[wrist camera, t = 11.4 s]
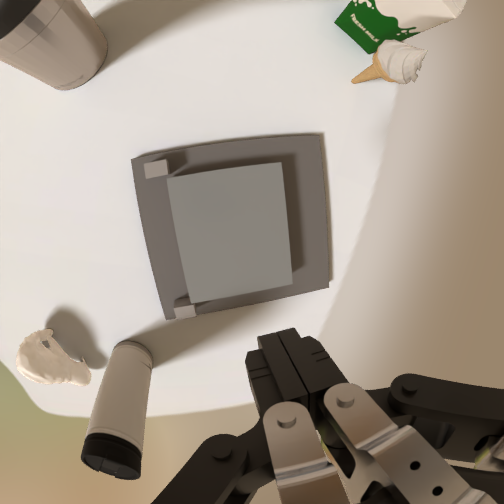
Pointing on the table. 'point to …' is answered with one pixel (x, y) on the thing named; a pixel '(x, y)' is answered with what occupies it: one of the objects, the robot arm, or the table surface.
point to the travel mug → (120, 414)
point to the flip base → (222, 157)
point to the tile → (232, 230)
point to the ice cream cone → (393, 63)
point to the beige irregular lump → (49, 362)
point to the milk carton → (394, 19)
